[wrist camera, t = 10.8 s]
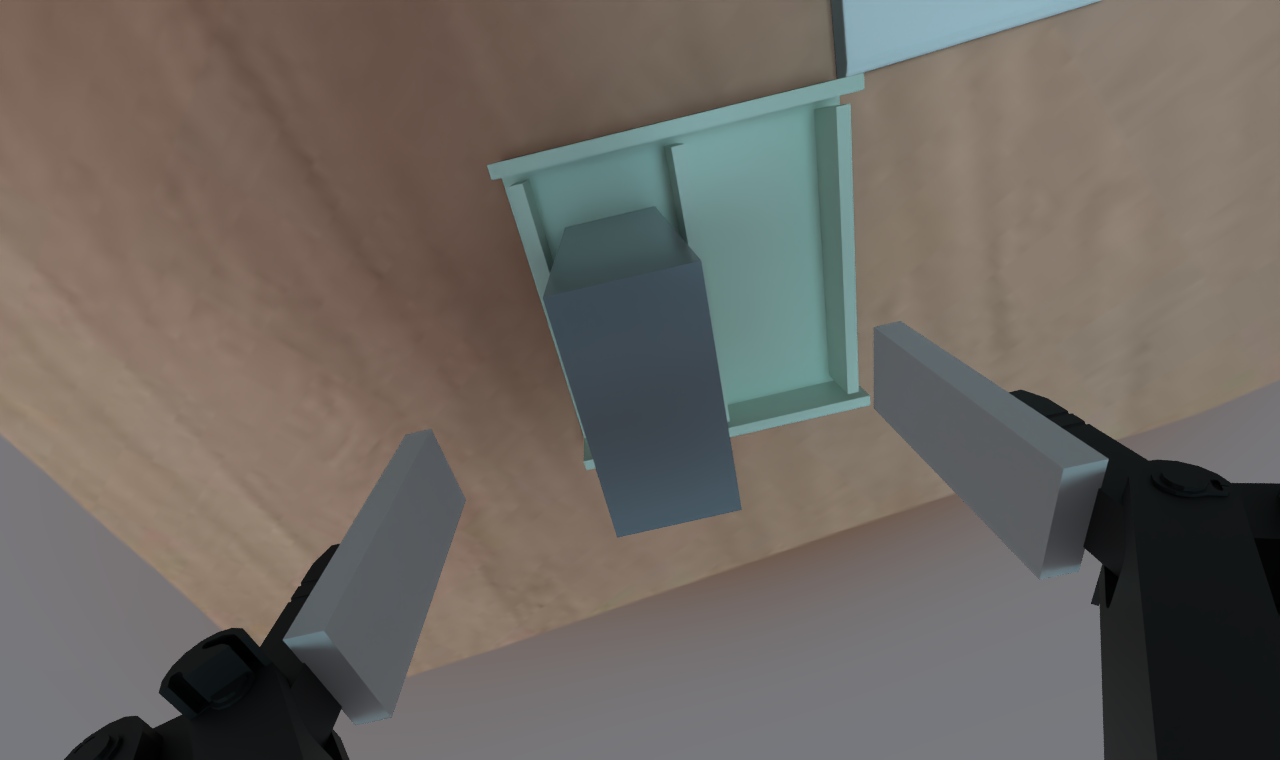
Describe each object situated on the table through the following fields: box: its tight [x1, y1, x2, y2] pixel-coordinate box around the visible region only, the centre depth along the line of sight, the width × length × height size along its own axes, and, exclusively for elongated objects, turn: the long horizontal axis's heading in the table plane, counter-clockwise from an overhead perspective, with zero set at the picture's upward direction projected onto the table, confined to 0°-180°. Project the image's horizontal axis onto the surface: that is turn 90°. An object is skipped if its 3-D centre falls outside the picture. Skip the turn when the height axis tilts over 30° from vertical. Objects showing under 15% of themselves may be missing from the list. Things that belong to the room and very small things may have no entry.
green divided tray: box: [487, 73, 870, 470], centre depth 26 cm, size 16×16×3 cm
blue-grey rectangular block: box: [543, 206, 742, 537], centre depth 21 cm, size 9×4×12 cm, turn 12°
